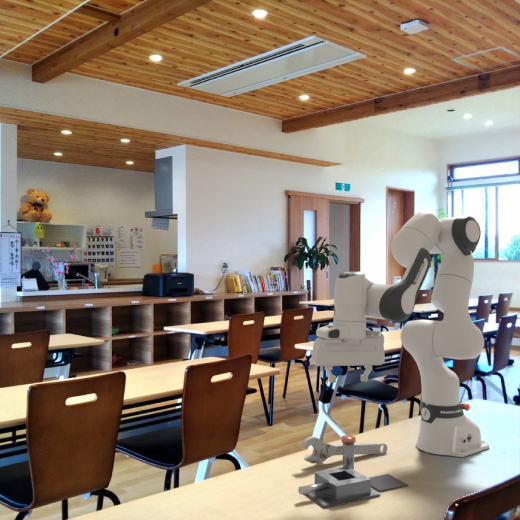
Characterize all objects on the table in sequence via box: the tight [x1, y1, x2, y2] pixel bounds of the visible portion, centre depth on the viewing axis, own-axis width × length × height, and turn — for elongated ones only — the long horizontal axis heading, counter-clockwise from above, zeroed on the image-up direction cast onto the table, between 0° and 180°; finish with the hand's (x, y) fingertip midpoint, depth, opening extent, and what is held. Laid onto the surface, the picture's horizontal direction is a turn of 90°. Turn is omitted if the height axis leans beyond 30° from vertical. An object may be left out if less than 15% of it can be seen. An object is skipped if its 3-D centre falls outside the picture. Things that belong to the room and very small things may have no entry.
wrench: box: [300, 435, 388, 467], centre depth 167 cm, size 8×2×30 cm
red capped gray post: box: [340, 434, 357, 470], centre depth 156 cm, size 4×4×10 cm
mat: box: [368, 473, 409, 493], centre depth 150 cm, size 9×8×1 cm
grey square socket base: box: [298, 466, 381, 509], centre depth 143 cm, size 19×12×4 cm, turn 116°
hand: (348, 381), depth 157 cm, fingers open, 8 cm apart
